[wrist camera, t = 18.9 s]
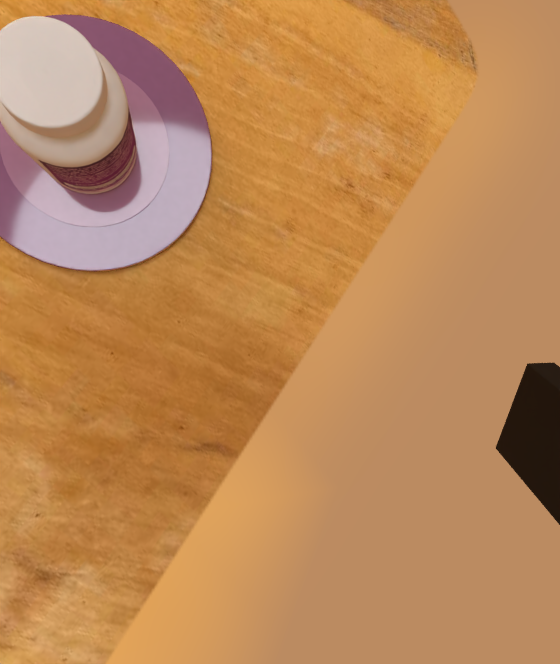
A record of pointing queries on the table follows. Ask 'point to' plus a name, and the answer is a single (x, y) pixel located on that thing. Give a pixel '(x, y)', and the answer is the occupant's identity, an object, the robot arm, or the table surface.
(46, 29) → the pill bottle
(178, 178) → the saucer
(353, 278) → the table surface
